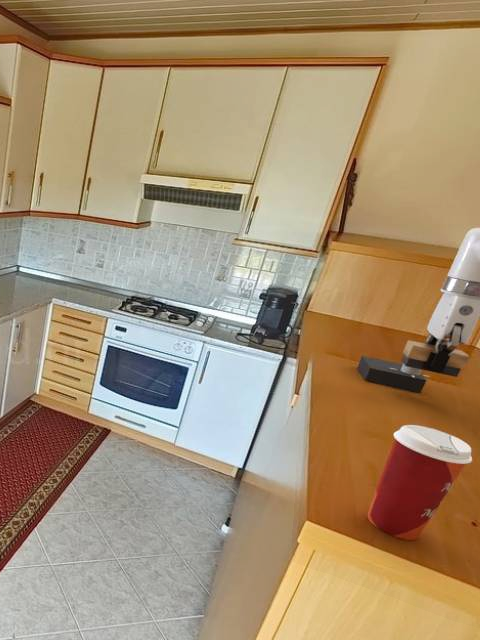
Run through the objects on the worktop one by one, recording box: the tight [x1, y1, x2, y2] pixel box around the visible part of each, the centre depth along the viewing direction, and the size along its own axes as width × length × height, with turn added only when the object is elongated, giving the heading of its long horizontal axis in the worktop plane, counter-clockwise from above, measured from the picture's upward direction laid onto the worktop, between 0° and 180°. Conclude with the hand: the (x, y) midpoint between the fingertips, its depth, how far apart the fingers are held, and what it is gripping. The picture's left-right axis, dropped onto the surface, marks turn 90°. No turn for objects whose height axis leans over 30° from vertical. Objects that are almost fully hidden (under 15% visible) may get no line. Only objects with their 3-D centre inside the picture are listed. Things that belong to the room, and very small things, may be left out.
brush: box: [400, 339, 470, 378], centre depth 109 cm, size 10×4×5 cm, turn 60°
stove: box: [356, 355, 431, 394], centre depth 123 cm, size 12×11×4 cm
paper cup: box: [367, 424, 473, 541], centre depth 65 cm, size 8×8×14 cm
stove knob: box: [401, 363, 422, 375], centre depth 119 cm, size 4×4×5 cm
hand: (429, 366), depth 110 cm, fingers closed on brush, 4 cm apart
